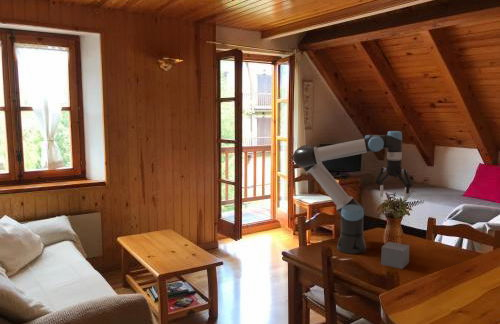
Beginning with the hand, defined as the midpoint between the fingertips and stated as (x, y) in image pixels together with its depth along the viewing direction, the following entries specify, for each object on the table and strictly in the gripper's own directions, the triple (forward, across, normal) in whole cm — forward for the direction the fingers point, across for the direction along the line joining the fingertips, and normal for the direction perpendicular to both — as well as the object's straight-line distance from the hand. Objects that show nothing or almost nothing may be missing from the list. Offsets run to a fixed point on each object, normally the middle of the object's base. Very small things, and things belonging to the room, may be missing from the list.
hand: (393, 197), depth 231 cm
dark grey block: (+26, +12, -28) cm, 40 cm away
